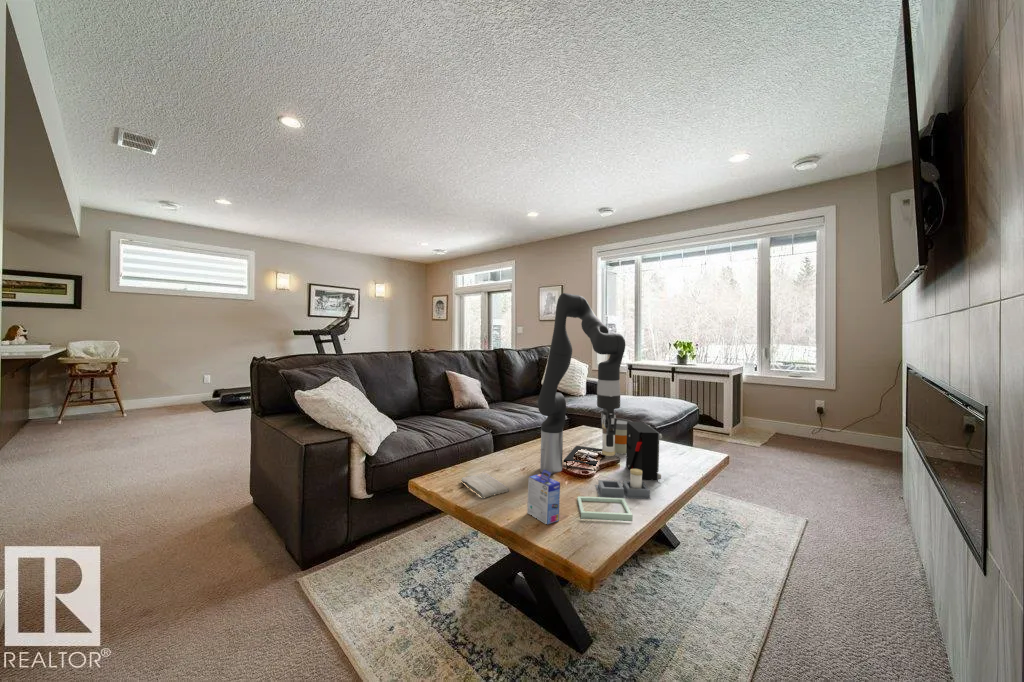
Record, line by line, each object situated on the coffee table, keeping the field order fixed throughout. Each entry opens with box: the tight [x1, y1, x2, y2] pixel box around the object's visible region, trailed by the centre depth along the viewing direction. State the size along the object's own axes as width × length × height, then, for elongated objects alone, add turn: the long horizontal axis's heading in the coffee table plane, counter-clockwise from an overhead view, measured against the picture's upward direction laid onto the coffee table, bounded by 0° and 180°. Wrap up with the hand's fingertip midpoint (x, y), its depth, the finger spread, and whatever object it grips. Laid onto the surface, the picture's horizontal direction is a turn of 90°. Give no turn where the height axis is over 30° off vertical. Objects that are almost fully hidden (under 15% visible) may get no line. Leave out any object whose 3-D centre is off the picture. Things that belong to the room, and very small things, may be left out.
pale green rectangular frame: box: [576, 495, 634, 522], centre depth 127 cm, size 16×12×2 cm
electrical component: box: [625, 421, 663, 483], centre depth 160 cm, size 18×10×20 cm, turn 179°
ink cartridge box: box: [526, 470, 561, 525], centre depth 122 cm, size 10×6×14 cm, turn 38°
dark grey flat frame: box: [562, 445, 602, 466], centre depth 178 cm, size 14×23×3 cm, turn 157°
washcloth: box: [460, 472, 510, 499], centre depth 145 cm, size 12×18×3 cm, turn 36°
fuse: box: [601, 422, 616, 457], centre depth 128 cm, size 4×4×10 cm
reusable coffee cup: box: [615, 418, 633, 455], centre depth 191 cm, size 13×12×15 cm
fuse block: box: [594, 469, 652, 500], centre depth 140 cm, size 18×11×9 cm, turn 86°
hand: (608, 444), depth 128 cm, fingers closed on fuse, 4 cm apart
